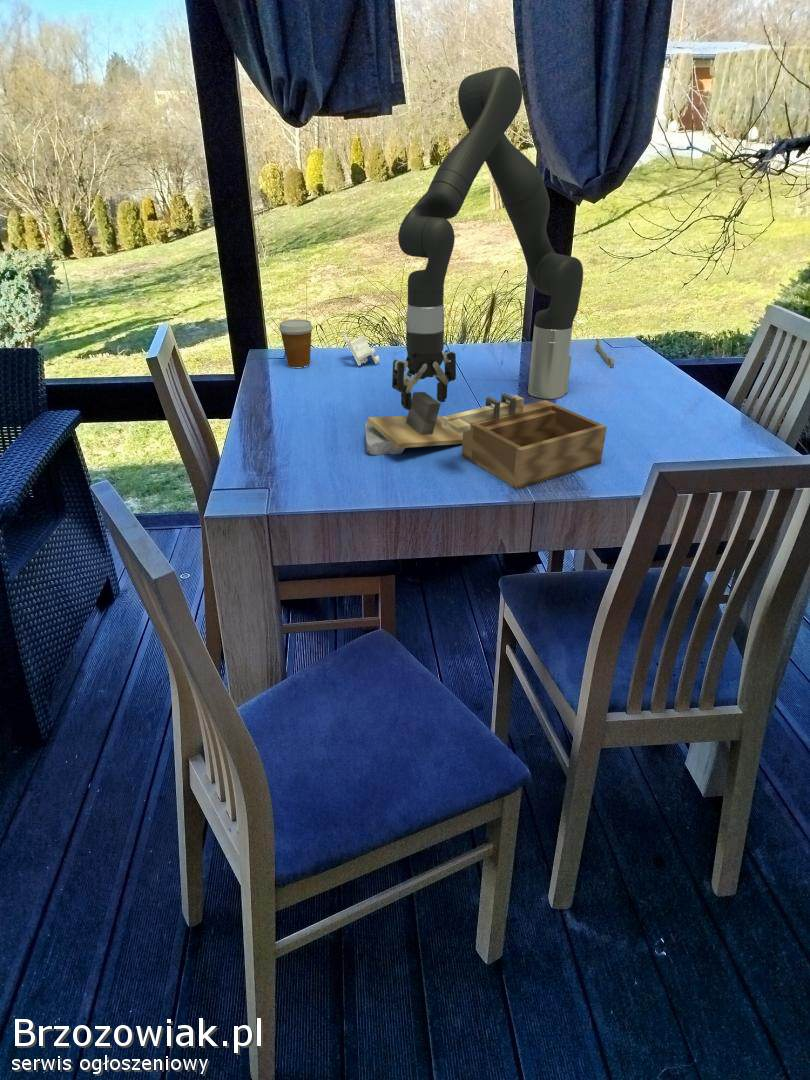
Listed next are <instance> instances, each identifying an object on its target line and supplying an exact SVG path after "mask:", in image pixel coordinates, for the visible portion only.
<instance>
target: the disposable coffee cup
mask: <svg viewBox="0 0 810 1080" xmlns="http://www.w3.org/2000/svg"><path fill="white" fill-rule="evenodd" d="M313 329H314V326H313V325H312V322H311V321H310V320H307V319H301V318H296V319H286V320H283V321H280V323H279V327H278V330H279V333H280V335H281V340H282V344H283V348H284V353H285V358H286V362H287V367H289V366H290V367H304V366H307V365H309V364H310V365H311V350H312V349H311V348H312V347H311V346H312V333H313V332H312V331H313ZM290 367H289V368H290Z"/></svg>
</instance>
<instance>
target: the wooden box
mask: <svg viewBox="0 0 810 1080" xmlns="http://www.w3.org/2000/svg"><path fill="white" fill-rule="evenodd" d="M500 396H501V397H500V401H499V400H497V399H495V398H493V397H491V396H488V397H486V398H485V407H486V406H490V405H495V408H494V418H491V419H487V420H483V421H479V422H475V423H471V424H470V425H471V431H467V432H463V433H462V434H463V440H462V444H461V445H462V446H461V457H463V458H465V459H466V460H468V461H469V462H471V463H473V464H474V465H476V466H478V467H479V468H481V469H483V470H485V472H487V473H489V474H491V475H493V476H494V477H496V478H498V479H499V478H500V480H501V481H503V482H504V481H505V482H504V483H506V484H507V485H509V484H510V485H509V486H511V487H512V488H514V487H515V488H514V489H516V488H517V489H516V490H519V488H520V489H523V488H526V487H529V485H530V486H532V485H536V484H539V483H542V482H545V480H546V481H549V480H552V479H555V478H558V476H559V477H561V476H565V475H567V474H572V473H575V472H577V471H581V470H584V469H586V468H589V467H593V466H597V465H600V464H602V458H603V452H604V446H605V440H606V434H607V427H608V426H606V425H604V424H602V423H600V422H597V421H595V420H593V419H591V418H588V417H586V416H584V415H581V414H580V413H576V412H575V411H572V410H569V409H567V408H565V407H563V406H561V405H559V404H556V403H554V402H551V401H549V400H548V399H544V400H539V401H535V402H531V403H528V404H527V403H526V404H523V412H519V413H515V402H516V398H514V397H512V396H513V395H510V394H507V393H502V394H500ZM508 400H509V401H510V410H509V414H507V415H503V416H499V414H500V403H503V402H507V401H508ZM548 479H549V480H548ZM535 483H536V484H535ZM522 487H523V488H522Z"/></svg>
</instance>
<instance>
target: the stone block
mask: <svg viewBox="0 0 810 1080" xmlns="http://www.w3.org/2000/svg"><path fill="white" fill-rule="evenodd" d="M364 433H365V445H366V454H368V455H370V456H380V455H381V456H383V455H401V454H403V452H404V451H405V450H406V448H397V447H396V446H395V445H393V444H392V443H391V442H390V441H389V440H388V439H387V438H386V437H384V436H383V435H382V434H381V433H380V432H379V431H378V430H376V429H375V428H374V427H373V426H372V425H371V424H370V423H368V422H367V421H366V422H365V423H364Z"/></svg>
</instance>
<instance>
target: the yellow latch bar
mask: <svg viewBox="0 0 810 1080" xmlns="http://www.w3.org/2000/svg"><path fill="white" fill-rule="evenodd" d="M511 396H512V397H514V398H516V402H515V413H519V412H523V405H525V404H524V402H525V399H524V398H523V397H522V396H519V395H516V394H514V395H511ZM494 408H495V405H494V404H491V405H490V406H486V405H485V406H483V407H478V408H474V409H471V410H465V411H461V412H457V413H453V414H449V415H445V416H444V415H443V416H441V418H442V425H441V427H443V428H445V429H450V430H452V431H454V432H455V433H457V434H460V433H462V434H463V432H467V431H471V425H470V424H471V423H475V422H479V421H483V420H487V419H491V418H494ZM509 410H510V401H509V400H506V402H503V403H501V402H500V414H499V416H503V415H507V414H509Z"/></svg>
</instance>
